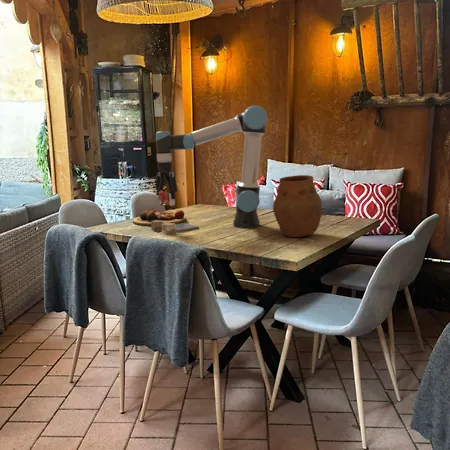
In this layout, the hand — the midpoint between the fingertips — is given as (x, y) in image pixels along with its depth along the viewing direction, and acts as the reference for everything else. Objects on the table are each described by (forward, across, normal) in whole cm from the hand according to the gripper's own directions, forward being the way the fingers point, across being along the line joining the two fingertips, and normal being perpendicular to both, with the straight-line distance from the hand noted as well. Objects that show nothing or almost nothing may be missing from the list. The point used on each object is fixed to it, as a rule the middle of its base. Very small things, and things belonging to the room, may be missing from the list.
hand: (167, 204), depth 230 cm
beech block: (+14, -4, +3) cm, 15 cm away
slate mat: (+14, 0, -8) cm, 17 cm away
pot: (+16, -56, -39) cm, 70 cm away
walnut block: (+14, +6, +3) cm, 16 cm away
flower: (0, 0, 0) cm, 0 cm away
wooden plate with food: (+15, +27, -13) cm, 33 cm away
